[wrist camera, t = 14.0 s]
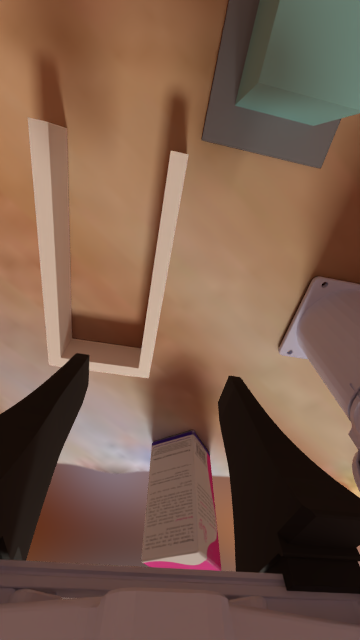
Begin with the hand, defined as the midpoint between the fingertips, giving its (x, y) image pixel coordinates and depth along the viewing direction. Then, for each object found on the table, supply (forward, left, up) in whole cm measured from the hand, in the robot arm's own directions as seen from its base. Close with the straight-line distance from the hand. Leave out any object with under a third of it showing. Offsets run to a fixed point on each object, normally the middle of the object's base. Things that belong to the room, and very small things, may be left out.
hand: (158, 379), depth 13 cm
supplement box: (-6, +21, -10) cm, 24 cm away
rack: (+4, -2, -10) cm, 11 cm away
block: (-5, -16, -10) cm, 19 cm away
